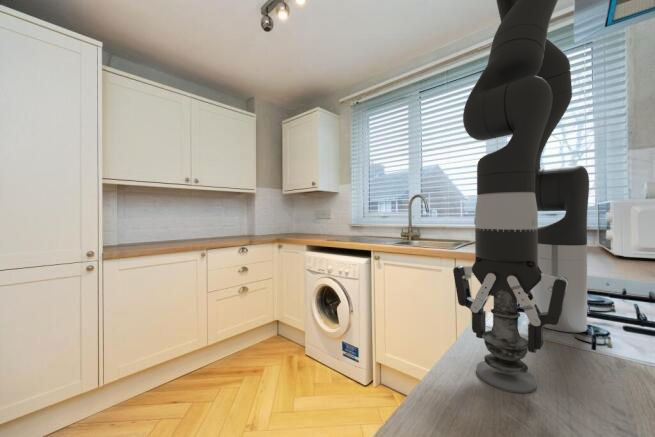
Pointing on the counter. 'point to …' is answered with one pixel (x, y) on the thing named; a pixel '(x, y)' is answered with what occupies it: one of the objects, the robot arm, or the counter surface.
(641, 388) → the counter surface
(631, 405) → the counter surface
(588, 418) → the counter surface
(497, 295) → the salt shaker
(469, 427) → the counter surface
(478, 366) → the coaster
